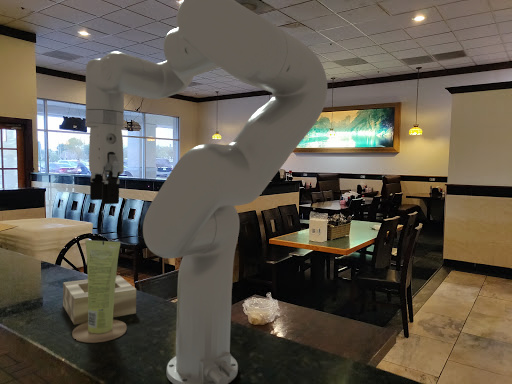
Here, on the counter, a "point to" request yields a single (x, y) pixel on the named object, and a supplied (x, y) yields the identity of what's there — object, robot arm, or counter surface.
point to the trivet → (85, 336)
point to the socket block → (78, 299)
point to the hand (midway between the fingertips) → (104, 201)
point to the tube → (101, 283)
